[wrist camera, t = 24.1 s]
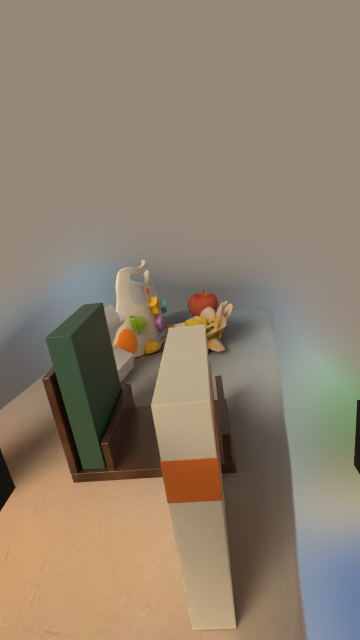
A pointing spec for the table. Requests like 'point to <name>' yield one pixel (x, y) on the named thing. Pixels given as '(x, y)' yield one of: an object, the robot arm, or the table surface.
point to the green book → (86, 378)
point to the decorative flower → (212, 324)
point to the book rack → (130, 437)
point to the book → (194, 476)
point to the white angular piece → (121, 356)
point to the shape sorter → (139, 313)
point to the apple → (202, 302)
